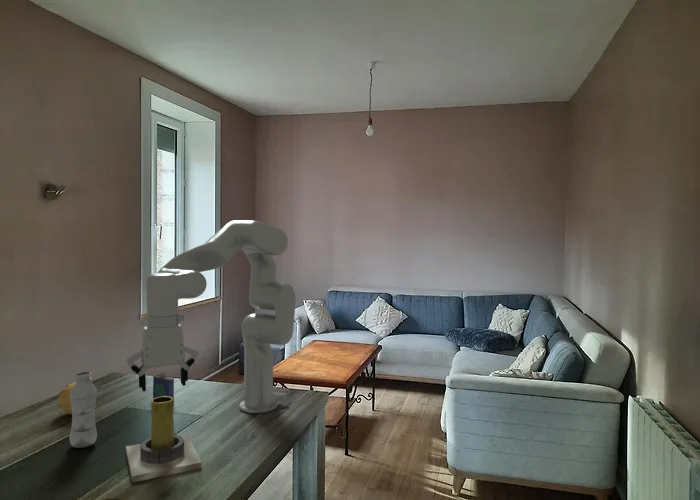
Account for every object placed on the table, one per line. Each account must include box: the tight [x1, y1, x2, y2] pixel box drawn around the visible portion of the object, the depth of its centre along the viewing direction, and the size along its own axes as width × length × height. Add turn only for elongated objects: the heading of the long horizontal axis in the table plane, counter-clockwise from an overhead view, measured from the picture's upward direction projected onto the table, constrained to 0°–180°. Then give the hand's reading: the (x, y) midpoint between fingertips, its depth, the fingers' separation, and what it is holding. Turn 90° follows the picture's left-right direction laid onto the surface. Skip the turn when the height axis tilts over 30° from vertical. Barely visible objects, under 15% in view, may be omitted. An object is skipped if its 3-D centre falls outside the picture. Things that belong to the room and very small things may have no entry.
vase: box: [150, 396, 175, 450], centre depth 129 cm, size 6×6×14 cm
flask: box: [152, 371, 175, 405], centre depth 171 cm, size 9×3×11 cm, turn 61°
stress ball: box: [57, 382, 76, 416], centre depth 159 cm, size 10×10×10 cm
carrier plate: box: [125, 434, 202, 483], centre depth 129 cm, size 16×18×4 cm
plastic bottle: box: [68, 371, 98, 449], centre depth 136 cm, size 6×7×20 cm
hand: (163, 387), depth 129 cm, fingers open, 9 cm apart
